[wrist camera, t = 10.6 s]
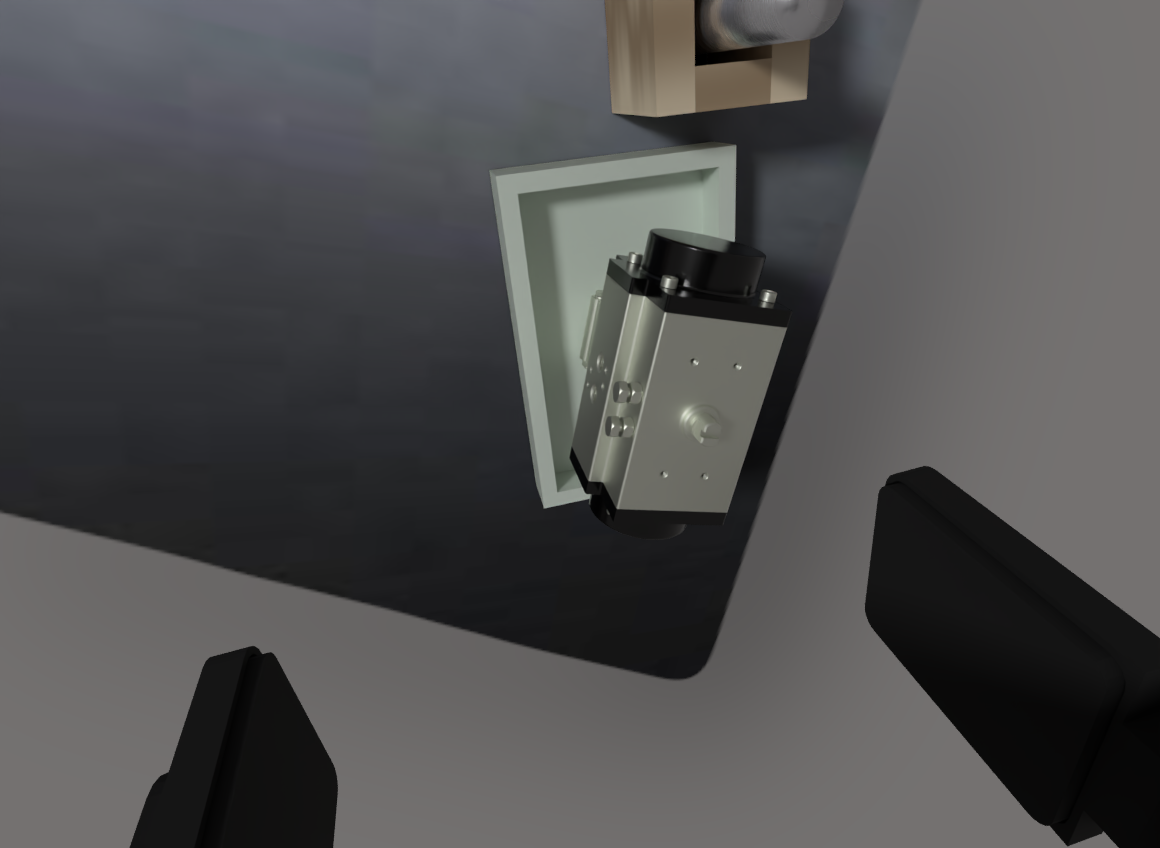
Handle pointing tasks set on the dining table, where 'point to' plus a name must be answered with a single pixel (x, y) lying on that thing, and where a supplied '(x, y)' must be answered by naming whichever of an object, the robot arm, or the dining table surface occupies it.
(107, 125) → the dining table surface
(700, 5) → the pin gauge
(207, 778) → the robot arm
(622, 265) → the pneumatic valve
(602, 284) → the tray
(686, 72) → the bore block
